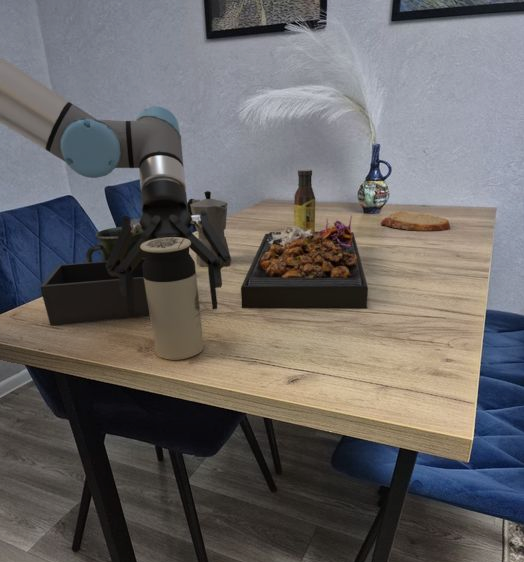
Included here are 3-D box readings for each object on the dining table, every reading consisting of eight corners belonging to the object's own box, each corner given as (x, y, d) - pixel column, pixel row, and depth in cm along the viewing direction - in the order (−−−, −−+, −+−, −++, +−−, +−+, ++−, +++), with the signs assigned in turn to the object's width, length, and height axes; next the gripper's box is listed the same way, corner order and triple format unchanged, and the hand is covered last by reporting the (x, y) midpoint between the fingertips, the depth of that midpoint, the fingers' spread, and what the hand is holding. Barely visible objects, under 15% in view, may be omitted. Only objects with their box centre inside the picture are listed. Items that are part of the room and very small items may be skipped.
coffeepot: (243, 262, 123) (239, 190, 115) (216, 270, 118) (209, 196, 109) (206, 252, 133) (200, 186, 125) (179, 260, 127) (171, 191, 119)
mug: (162, 281, 112) (154, 230, 107) (104, 297, 103) (93, 242, 98) (139, 271, 119) (132, 224, 114) (84, 286, 111) (73, 235, 105)
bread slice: (454, 229, 147) (456, 216, 145) (402, 234, 143) (403, 222, 141) (424, 218, 162) (425, 207, 161) (376, 223, 159) (376, 211, 157)
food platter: (265, 249, 134) (264, 212, 130) (353, 248, 131) (354, 210, 127) (242, 307, 94) (238, 257, 90) (366, 308, 92) (370, 256, 87)
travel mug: (148, 360, 76) (129, 249, 67) (165, 339, 83) (150, 236, 74) (196, 362, 74) (183, 249, 66) (209, 340, 81) (198, 236, 73)
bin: (50, 325, 90) (40, 286, 87) (66, 299, 103) (58, 264, 100) (164, 314, 93) (158, 276, 89) (166, 290, 106) (161, 256, 102)
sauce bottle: (308, 243, 138) (309, 171, 129) (290, 241, 141) (289, 171, 132) (318, 238, 143) (319, 168, 134) (300, 236, 146) (300, 168, 137)
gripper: (234, 201, 84) (250, 311, 77) (95, 210, 81) (98, 326, 75) (235, 172, 77) (252, 291, 70) (82, 182, 74) (85, 307, 68)
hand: (173, 309), depth 72 cm, fingers open, 12 cm apart
